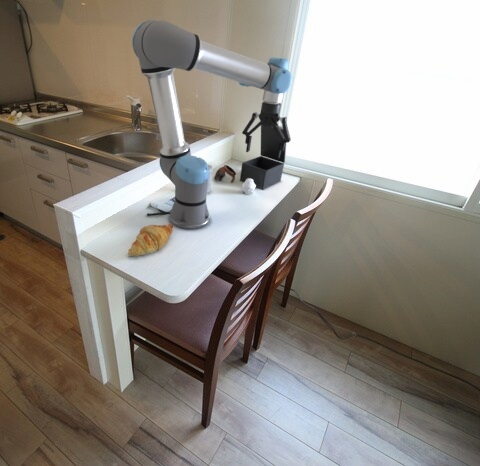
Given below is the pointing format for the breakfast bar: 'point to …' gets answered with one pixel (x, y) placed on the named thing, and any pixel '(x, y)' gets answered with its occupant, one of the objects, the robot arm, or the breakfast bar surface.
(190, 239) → the breakfast bar surface
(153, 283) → the breakfast bar surface
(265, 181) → the open cubby box
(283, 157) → the lid
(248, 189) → the muffin
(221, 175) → the broken terracotta ring
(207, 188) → the beverage can
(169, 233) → the croissant
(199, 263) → the breakfast bar surface
